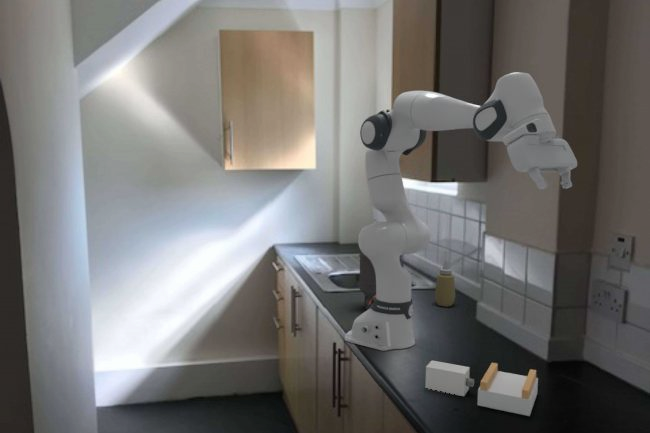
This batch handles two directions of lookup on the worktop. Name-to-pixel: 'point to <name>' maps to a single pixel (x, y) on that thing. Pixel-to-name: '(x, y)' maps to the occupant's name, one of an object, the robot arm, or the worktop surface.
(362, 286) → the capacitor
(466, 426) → the worktop surface
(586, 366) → the worktop surface
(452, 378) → the white block with knob
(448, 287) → the squeeze bottle
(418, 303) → the worktop surface
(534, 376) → the white tray with rails
